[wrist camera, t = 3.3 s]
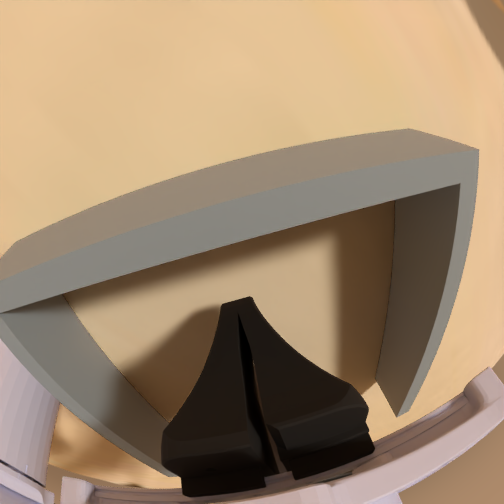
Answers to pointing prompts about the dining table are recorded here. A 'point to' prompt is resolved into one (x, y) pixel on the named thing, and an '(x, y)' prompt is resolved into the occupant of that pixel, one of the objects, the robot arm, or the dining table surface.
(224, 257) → the dining table surface
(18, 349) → the gray rectangular arch
